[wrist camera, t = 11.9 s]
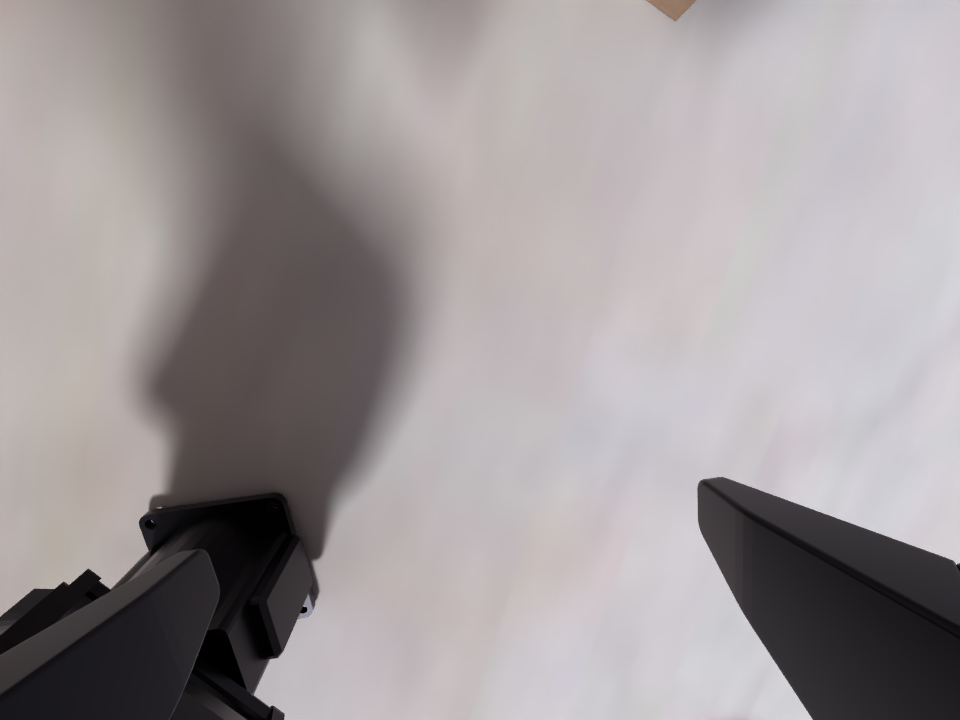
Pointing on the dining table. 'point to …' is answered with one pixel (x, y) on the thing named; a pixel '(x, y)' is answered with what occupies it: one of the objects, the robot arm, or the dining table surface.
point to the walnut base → (672, 7)
